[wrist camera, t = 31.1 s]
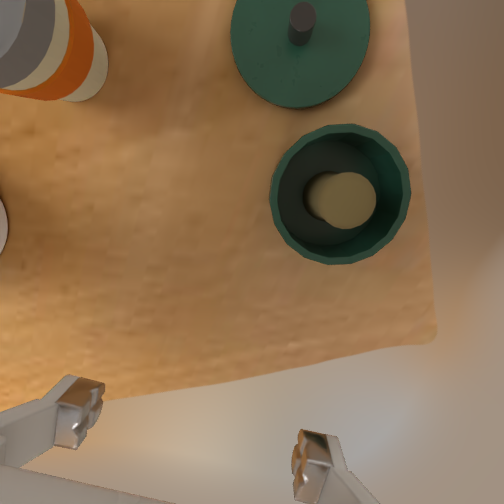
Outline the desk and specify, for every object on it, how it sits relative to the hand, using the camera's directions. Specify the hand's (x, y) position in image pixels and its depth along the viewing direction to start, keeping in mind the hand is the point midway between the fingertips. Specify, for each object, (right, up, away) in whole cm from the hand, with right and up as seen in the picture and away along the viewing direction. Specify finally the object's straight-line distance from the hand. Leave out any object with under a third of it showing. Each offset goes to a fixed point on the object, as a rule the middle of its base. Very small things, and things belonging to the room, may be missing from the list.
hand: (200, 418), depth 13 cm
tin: (+11, +14, +26) cm, 32 cm away
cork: (+11, +14, +26) cm, 31 cm away
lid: (+7, +31, +22) cm, 38 cm away
